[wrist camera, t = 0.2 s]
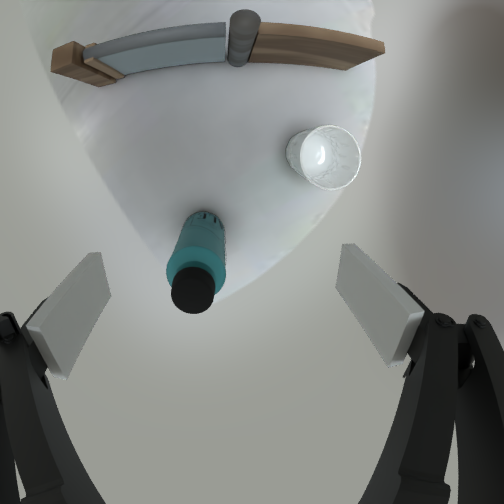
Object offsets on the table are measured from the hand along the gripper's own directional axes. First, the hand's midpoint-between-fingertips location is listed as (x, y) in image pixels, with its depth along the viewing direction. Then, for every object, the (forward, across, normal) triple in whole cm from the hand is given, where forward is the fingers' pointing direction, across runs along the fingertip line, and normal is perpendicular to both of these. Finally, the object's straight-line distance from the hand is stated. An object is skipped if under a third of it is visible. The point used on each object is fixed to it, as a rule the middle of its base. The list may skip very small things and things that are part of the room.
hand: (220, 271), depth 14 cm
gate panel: (+27, -8, +19) cm, 34 cm away
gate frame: (+28, 0, +19) cm, 34 cm away
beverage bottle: (+28, -3, -7) cm, 29 cm away
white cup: (+28, +13, +5) cm, 31 cm away
